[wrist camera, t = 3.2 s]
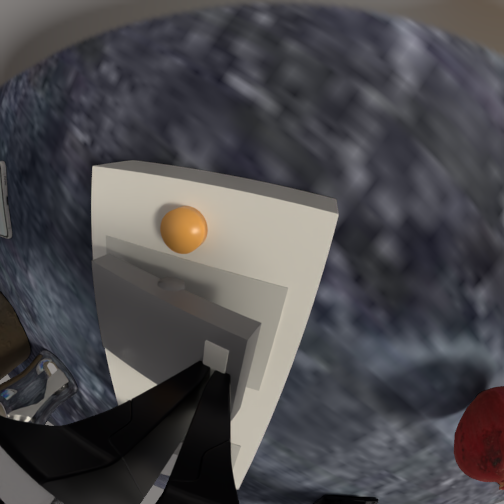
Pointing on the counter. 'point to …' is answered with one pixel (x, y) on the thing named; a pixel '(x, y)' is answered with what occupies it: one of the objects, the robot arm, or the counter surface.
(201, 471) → the robot arm
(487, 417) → the onion
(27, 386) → the beer glass
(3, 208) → the smartphone
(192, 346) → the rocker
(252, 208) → the power strip
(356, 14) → the counter surface
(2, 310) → the pillar candle
